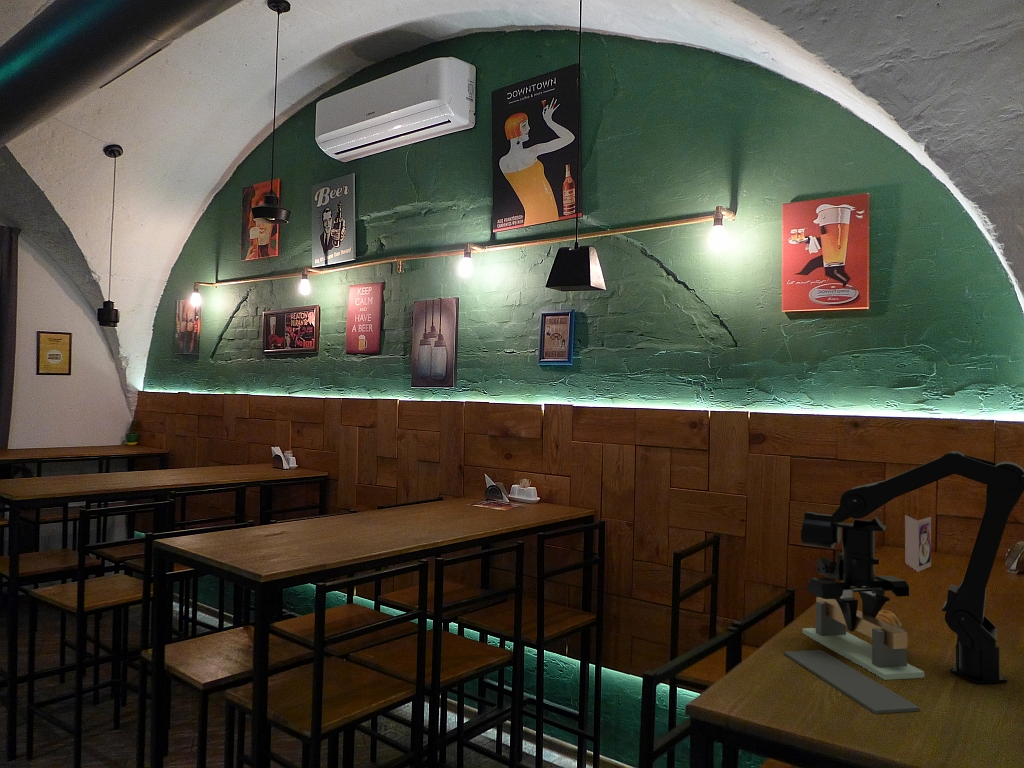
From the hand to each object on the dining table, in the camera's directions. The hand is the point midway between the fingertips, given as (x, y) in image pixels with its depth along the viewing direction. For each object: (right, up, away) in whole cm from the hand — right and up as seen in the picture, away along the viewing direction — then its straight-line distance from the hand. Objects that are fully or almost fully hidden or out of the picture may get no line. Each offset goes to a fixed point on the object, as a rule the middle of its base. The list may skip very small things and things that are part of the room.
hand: (858, 630), depth 142 cm
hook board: (0, -4, 0) cm, 4 cm away
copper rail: (0, +1, 0) cm, 1 cm away
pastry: (+12, -5, +15) cm, 20 cm away
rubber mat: (-9, -4, -14) cm, 17 cm away
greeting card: (+53, -7, +76) cm, 93 cm away
